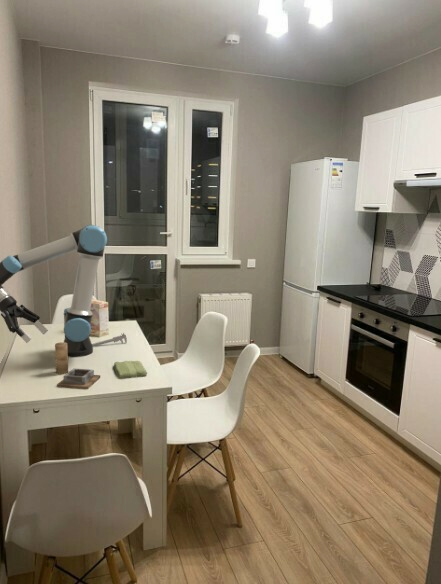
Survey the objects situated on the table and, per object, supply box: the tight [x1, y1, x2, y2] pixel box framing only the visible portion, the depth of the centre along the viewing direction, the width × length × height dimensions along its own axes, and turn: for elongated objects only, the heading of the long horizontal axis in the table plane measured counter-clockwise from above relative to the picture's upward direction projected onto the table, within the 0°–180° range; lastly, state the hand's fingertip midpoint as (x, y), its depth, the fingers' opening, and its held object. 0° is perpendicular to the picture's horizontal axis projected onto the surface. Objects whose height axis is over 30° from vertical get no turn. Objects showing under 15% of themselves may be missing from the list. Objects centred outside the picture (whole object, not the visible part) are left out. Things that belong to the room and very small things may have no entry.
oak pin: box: [54, 341, 69, 375], centre depth 189 cm, size 5×5×13 cm
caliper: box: [92, 332, 128, 348], centre depth 231 cm, size 20×1×6 cm, turn 115°
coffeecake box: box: [90, 298, 110, 338], centre depth 251 cm, size 15×7×20 cm, turn 55°
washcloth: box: [112, 360, 148, 379], centre depth 194 cm, size 13×18×3 cm
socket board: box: [56, 368, 101, 390], centre depth 179 cm, size 13×13×4 cm
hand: (37, 336), depth 188 cm, fingers open, 13 cm apart
